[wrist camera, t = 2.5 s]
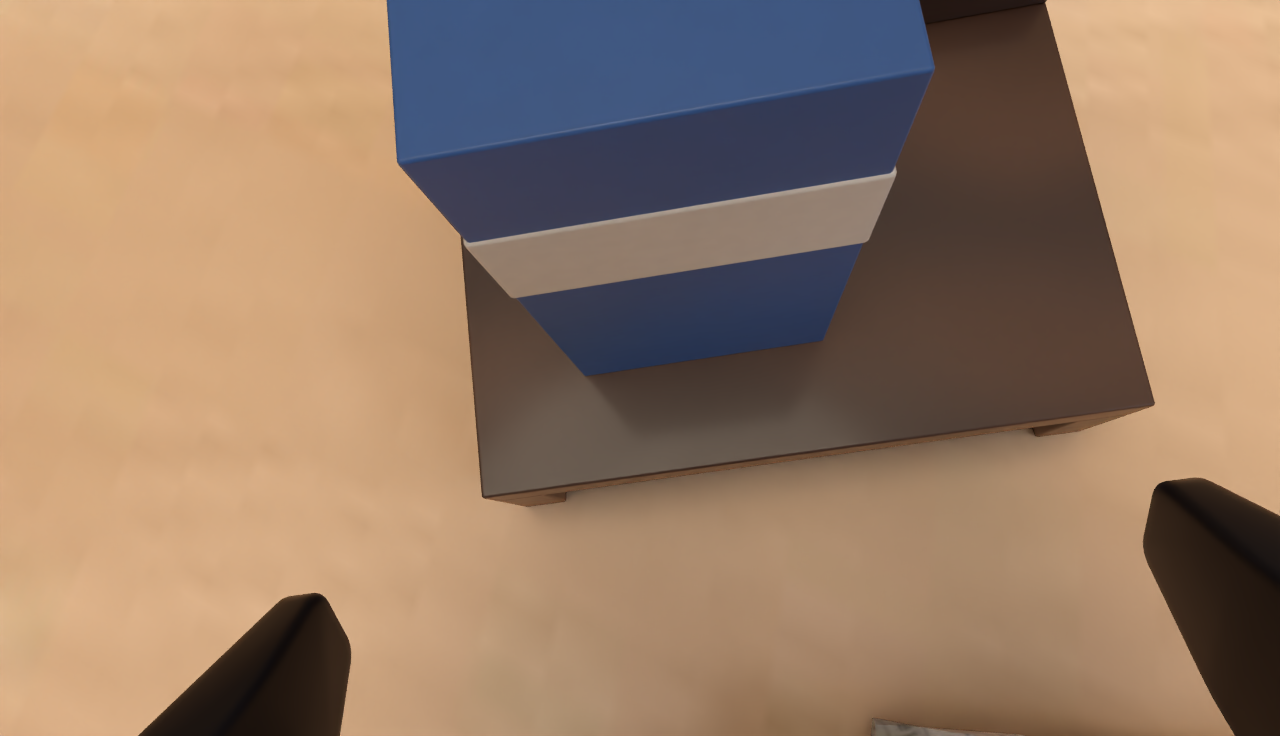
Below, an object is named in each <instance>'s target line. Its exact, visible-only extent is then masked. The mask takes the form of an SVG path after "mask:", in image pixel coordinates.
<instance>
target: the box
mask: <svg viewBox="0 0 1280 736" xmlns="http://www.w3.org/2000/svg"><path fill="white" fill-rule="evenodd" d="M387 11H388V27H389V43H390V58H391V74H392V89H393V105H394V121H395V136H396V152H397V163H398V164H399V166H400V167H401V168H402V169H403V170H404V171H405V173H406V174H407V175H408V176H409V177H410V178H411V179H412V180H413V182H414V183H415V184H416V185H417V186H418V187H419V188H420V190H421V191H422V192H423V193H424V194H425V195H426V196H427V198H428V199H429V200H430V201H431V202H432V203H433V204H434V205H435V207H436V208H437V209H438V210H439V211H440V212H441V213H442V215H443V216H444V217H445V218H446V219H447V220H448V221H449V222H450V224H451V225H452V226H453V227H454V228H455V229H456V230H457V232H458V233H459V234H460V235H461V236H462V237H463V241H464V245H465V247H466V248H467V249H468V251H469V252H470V253H471V254H472V255H473V256H474V257H475V258H476V259H477V261H478V262H479V263H480V264H481V265H482V266H483V267H484V268H485V269H486V271H487V272H488V273H489V274H490V275H491V276H492V277H493V278H494V279H495V281H496V282H497V283H498V284H499V285H500V286H501V287H502V288H503V289H504V291H505V292H506V293H507V294H508V295H509V296H510V297H511V298H516V299H517V300H518V301H519V302H520V303H521V304H522V305H523V306H524V308H525V309H526V310H527V311H528V312H529V313H530V314H531V316H532V317H533V318H534V319H535V320H536V321H537V322H538V323H539V325H540V326H541V327H542V328H543V329H544V330H545V331H546V333H547V334H548V335H549V336H550V337H551V338H552V339H553V340H554V342H555V343H556V344H557V345H558V346H559V347H560V348H561V350H562V351H563V352H564V353H565V354H566V355H567V356H568V358H569V359H570V360H571V361H572V362H573V363H574V364H575V365H576V367H577V368H578V369H579V370H580V371H581V372H582V373H583V375H584V376H589V375H596V374H602V373H609V372H616V371H622V370H629V369H636V368H643V367H649V366H656V365H663V364H669V363H676V362H683V361H689V360H696V359H703V358H709V357H716V356H723V355H729V354H736V353H743V352H750V351H756V350H763V349H770V348H776V347H783V346H790V345H796V344H803V343H810V342H816V341H822V340H823V339H824V337H825V334H826V332H827V330H828V327H829V325H830V322H831V320H832V317H833V315H834V313H835V310H836V308H837V305H838V303H839V301H840V298H841V296H842V293H843V291H844V288H845V286H846V284H847V281H848V279H849V276H850V274H851V272H852V269H853V267H854V264H855V262H856V259H857V257H858V255H859V252H860V250H861V247H862V245H863V243H865V242H867V241H868V240H869V238H870V236H871V233H872V231H873V229H874V226H875V224H876V222H877V219H878V217H879V215H880V212H881V210H882V208H883V205H884V203H885V200H886V198H887V196H888V193H889V191H890V189H891V186H892V184H893V182H894V179H895V177H896V173H897V171H896V167H895V165H896V163H897V160H898V158H899V155H900V153H901V151H902V148H903V146H904V143H905V141H906V138H907V136H908V134H909V131H910V129H911V126H912V124H913V122H914V119H915V117H916V114H917V112H918V109H919V107H920V105H921V102H922V100H923V97H924V95H925V92H926V90H927V88H928V85H929V83H930V80H931V78H932V76H933V73H934V70H935V65H934V61H933V57H932V52H931V48H930V44H929V40H928V35H927V31H926V27H925V22H924V18H923V14H922V10H921V5H920V1H919V0H387Z"/></svg>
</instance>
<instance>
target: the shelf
mask: <svg viewBox="0 0 1280 736" xmlns="http://www.w3.org/2000/svg"><path fill="white" fill-rule="evenodd" d="M919 1H920V5H921V10H922V14H923V18H924V22H925V27H926V31H927V35H928V40H929V44H930V48H931V52H932V57H933V61H934V65H935V70H934V73H933V76H932V78H931V80H930V83H929V85H928V88H927V90H926V92H925V95H924V97H923V100H922V102H921V105H920V107H919V109H918V112H917V114H916V117H915V119H914V122H913V124H912V126H911V129H910V131H909V134H908V136H907V138H906V141H905V143H904V146H903V148H902V151H901V153H900V155H899V158H898V160H897V163H896V165H895V167H896V171H897V173H896V177H895V179H894V182H893V184H892V186H891V189H890V191H889V193H888V196H887V198H886V200H885V203H884V205H883V208H882V210H881V212H880V215H879V217H878V219H877V222H876V224H875V226H874V229H873V231H872V233H871V236H870V238H869V240H868V241H867V242H865V243H863V245H862V247H861V250H860V252H859V255H858V257H857V259H856V262H855V264H854V267H853V269H852V272H851V274H850V276H849V279H848V281H847V284H846V286H845V288H844V291H843V293H842V296H841V298H840V301H839V303H838V305H837V308H836V310H835V313H834V315H833V317H832V320H831V322H830V325H829V327H828V330H827V332H826V334H825V337H824V339H823V340H822V341H816V342H810V343H803V344H796V345H790V346H783V347H776V348H770V349H763V350H756V351H750V352H743V353H736V354H729V355H723V356H716V357H709V358H703V359H696V360H689V361H683V362H676V363H669V364H663V365H656V366H649V367H643V368H636V369H629V370H622V371H616V372H609V373H602V374H596V375H589V376H584V375H583V373H582V372H581V371H580V370H579V369H578V368H577V367H576V365H575V364H574V363H573V362H572V361H571V360H570V359H569V358H568V356H567V355H566V354H565V353H564V352H563V351H562V350H561V348H560V347H559V346H558V345H557V344H556V343H555V342H554V340H553V339H552V338H551V337H550V336H549V335H548V334H547V333H546V331H545V330H544V329H543V328H542V327H541V326H540V325H539V323H538V322H537V321H536V320H535V319H534V318H533V317H532V316H531V314H530V313H529V312H528V311H527V310H526V309H525V308H524V306H523V305H522V304H521V303H520V302H519V301H518V300H517V299H516V298H511V297H510V296H509V295H508V294H507V293H506V292H505V291H504V289H503V288H502V287H501V286H500V285H499V284H498V283H497V282H496V281H495V279H494V278H493V277H492V276H491V275H490V274H489V273H488V272H487V271H486V269H485V268H484V267H483V266H482V265H481V264H480V263H479V262H478V261H477V259H476V258H475V257H474V256H473V255H472V254H471V253H470V252H469V251H468V249H467V248H466V247H465V245H464V241H463V237H462V236H461V245H462V257H463V270H464V282H465V294H466V306H467V319H468V331H469V343H470V356H471V368H472V380H473V392H474V405H475V417H476V429H477V441H478V454H479V466H480V478H481V490H482V497H483V498H485V499H490V500H495V501H501V502H506V503H511V504H516V505H521V506H526V507H528V506H536V505H543V504H550V503H557V502H564V501H565V500H566V493H565V492H568V491H575V490H582V489H589V488H597V487H604V486H611V485H618V484H626V483H633V482H640V481H648V480H655V479H662V478H669V477H677V476H684V475H691V474H698V473H706V472H713V471H720V470H727V469H735V468H742V467H749V466H756V465H764V464H771V463H778V462H785V461H793V460H800V459H807V458H814V457H822V456H829V455H836V454H843V453H851V452H858V451H865V450H872V449H880V448H887V447H894V446H902V445H909V444H916V443H923V442H931V441H938V440H945V439H952V438H960V437H967V436H974V435H981V434H989V433H996V432H1003V431H1010V430H1018V429H1025V428H1032V427H1033V429H1034V433H1035V436H1037V437H1040V436H1048V435H1055V434H1062V433H1069V432H1077V431H1081V430H1084V429H1087V428H1090V427H1093V426H1096V425H1099V424H1102V423H1105V422H1108V421H1111V420H1114V419H1116V418H1119V417H1122V416H1125V415H1127V414H1131V413H1134V412H1137V411H1140V410H1143V409H1146V408H1149V407H1151V406H1153V405H1154V404H1155V402H1154V398H1153V395H1152V391H1151V388H1150V384H1149V380H1148V377H1147V373H1146V369H1145V366H1144V362H1143V358H1142V355H1141V351H1140V347H1139V344H1138V340H1137V336H1136V333H1135V329H1134V325H1133V322H1132V318H1131V314H1130V311H1129V307H1128V304H1127V300H1126V296H1125V293H1124V289H1123V285H1122V282H1121V278H1120V274H1119V271H1118V267H1117V263H1116V260H1115V256H1114V252H1113V249H1112V245H1111V241H1110V238H1109V234H1108V230H1107V227H1106V223H1105V219H1104V216H1103V212H1102V209H1101V205H1100V201H1099V198H1098V194H1097V190H1096V187H1095V183H1094V179H1093V176H1092V172H1091V168H1090V165H1089V161H1088V157H1087V154H1086V150H1085V146H1084V143H1083V139H1082V135H1081V132H1080V128H1079V124H1078V121H1077V117H1076V114H1075V110H1074V106H1073V103H1072V99H1071V95H1070V92H1069V88H1068V84H1067V81H1066V77H1065V73H1064V70H1063V66H1062V62H1061V59H1060V55H1059V51H1058V48H1057V44H1056V40H1055V37H1054V33H1053V29H1052V26H1051V22H1050V19H1049V15H1048V11H1047V8H1046V4H1045V2H1046V1H1047V0H919Z"/></svg>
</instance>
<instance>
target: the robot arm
mask: <svg viewBox="0 0 1280 736" xmlns="http://www.w3.org/2000/svg"><path fill="white" fill-rule="evenodd" d="M1143 548H1144V554H1145V557H1146V560H1147V563H1148V565H1149V567H1150V569H1151V571H1152V573H1153V575H1154V577H1155V580H1156V582H1157V584H1158V586H1159V588H1160V590H1161V592H1162V594H1163V596H1164V598H1165V601H1166V603H1167V605H1168V607H1169V609H1170V611H1171V613H1172V615H1173V617H1174V619H1175V621H1176V624H1177V626H1178V628H1179V630H1180V632H1181V634H1182V636H1183V638H1184V640H1185V642H1186V645H1187V647H1188V649H1189V651H1190V653H1191V655H1192V657H1193V659H1194V661H1195V663H1196V665H1197V668H1198V670H1199V672H1200V674H1201V676H1202V678H1203V680H1204V682H1205V684H1206V686H1207V688H1208V689H1209V691H1210V693H1211V695H1212V697H1213V699H1214V701H1215V702H1216V704H1217V706H1218V708H1219V709H1220V711H1221V713H1222V714H1223V716H1224V718H1225V720H1226V721H1227V723H1228V724H1229V726H1230V728H1231V729H1232V731H1233V733H1234V734H1235V736H1280V516H1279V515H1277V514H1275V513H1273V512H1271V511H1269V510H1267V509H1265V508H1263V507H1261V506H1259V505H1257V504H1255V503H1253V502H1251V501H1249V500H1247V499H1245V498H1243V497H1241V496H1239V495H1237V494H1235V493H1233V492H1231V491H1229V490H1227V489H1225V488H1223V487H1221V486H1219V485H1217V484H1215V483H1213V482H1211V481H1209V480H1206V479H1203V478H1188V479H1180V480H1172V481H1165V482H1162V483H1160V484H1158V485H1157V487H1156V488H1155V489H1154V492H1153V495H1152V499H1151V504H1150V509H1149V513H1148V518H1147V523H1146V528H1145V532H1144V538H1143ZM350 664H351V648H350V643H349V640H348V637H347V635H346V634H345V632H344V630H343V628H342V626H341V624H340V623H339V621H338V619H337V617H336V615H335V613H334V611H333V610H332V608H331V606H330V604H329V602H328V601H327V599H326V598H325V597H324V596H323V595H321V594H318V593H311V594H303V595H295V596H289V597H286V598H284V599H282V600H281V601H279V602H278V603H277V604H276V605H275V606H274V607H273V608H272V609H271V610H270V611H268V612H267V613H266V614H265V615H264V616H263V617H262V618H261V619H260V620H259V621H258V622H257V623H256V624H255V625H254V626H253V627H252V628H251V629H250V630H249V631H248V632H246V633H245V634H244V635H243V636H242V637H241V638H240V639H239V640H238V641H237V642H236V643H235V644H234V645H233V646H232V647H231V648H230V649H229V650H228V651H227V652H225V653H224V654H223V655H222V656H221V657H220V658H219V659H218V660H217V661H216V662H215V663H214V664H213V665H212V666H211V667H210V668H209V669H208V670H207V671H206V672H204V673H203V674H202V675H201V676H200V677H199V678H198V679H197V680H196V681H195V682H194V683H193V684H192V685H191V686H190V687H189V688H188V689H187V690H186V691H185V692H184V693H182V694H181V695H180V696H179V697H178V698H177V699H176V700H175V701H174V702H173V703H172V704H171V705H170V706H169V707H168V708H167V709H166V710H165V711H164V712H163V713H161V714H160V715H159V716H158V717H157V718H156V719H155V720H154V721H153V722H152V723H151V724H150V725H149V726H148V727H147V728H146V729H145V730H144V731H143V732H142V733H140V734H139V735H138V736H340V731H341V724H342V717H343V711H344V704H345V697H346V691H347V684H348V677H349V671H350Z"/></svg>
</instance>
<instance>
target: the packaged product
mask: <svg viewBox="0 0 1280 736" xmlns="http://www.w3.org/2000/svg"><path fill="white" fill-rule="evenodd" d="M871 736H1024V735H1018V734H1007V733H994V732H981V731H967V730H954V729H940V728H927V727H920V726H914V725H909V724H904V723H898V722H893V721H887V720H882V719H876V718H872V728H871Z"/></svg>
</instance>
